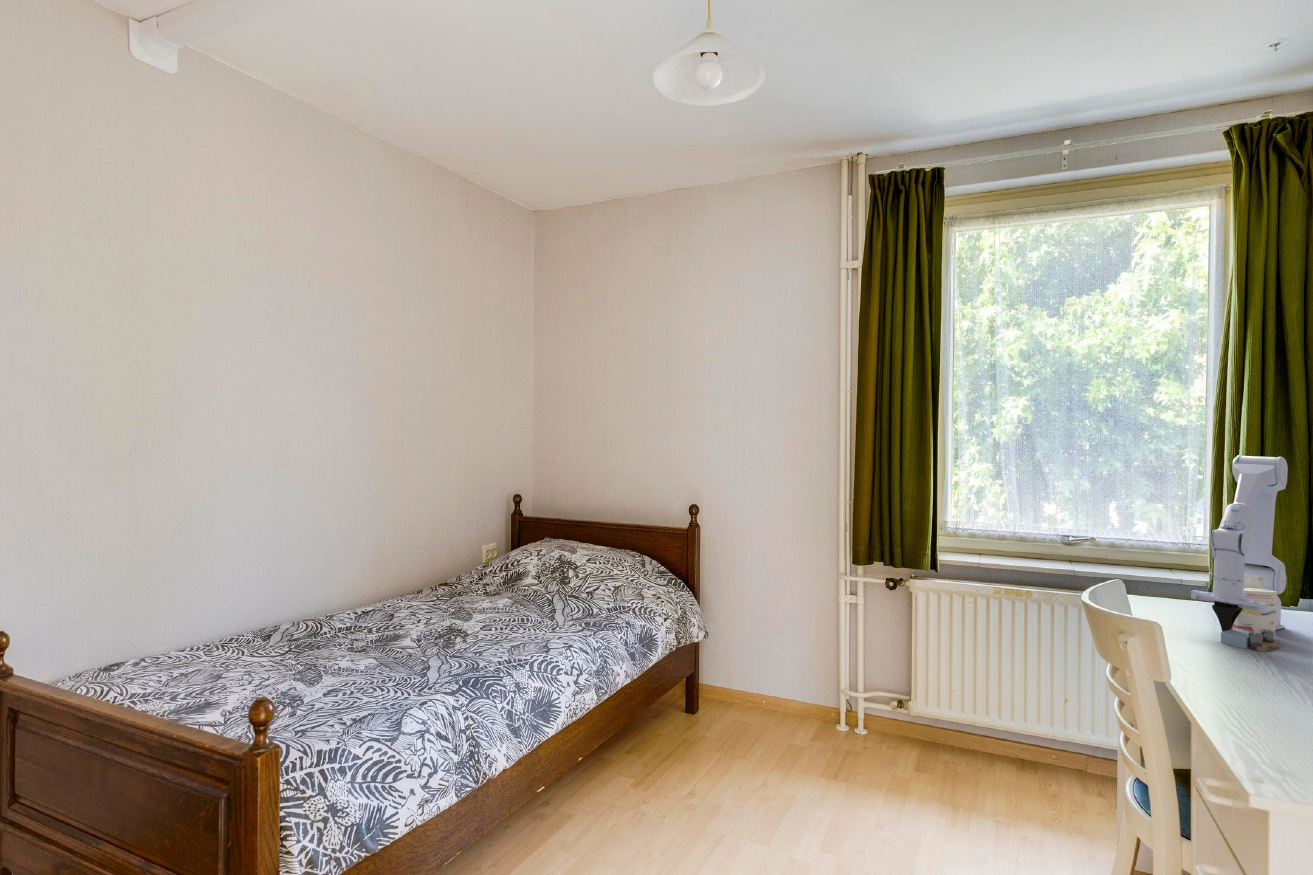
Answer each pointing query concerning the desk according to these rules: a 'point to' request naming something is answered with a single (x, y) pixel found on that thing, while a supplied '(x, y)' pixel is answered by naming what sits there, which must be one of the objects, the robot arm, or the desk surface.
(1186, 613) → the desk surface
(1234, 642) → the pale blue chamfered block
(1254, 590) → the ink cartridge box
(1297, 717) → the desk surface
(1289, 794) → the desk surface
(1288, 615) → the desk surface
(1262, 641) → the bench dogs
